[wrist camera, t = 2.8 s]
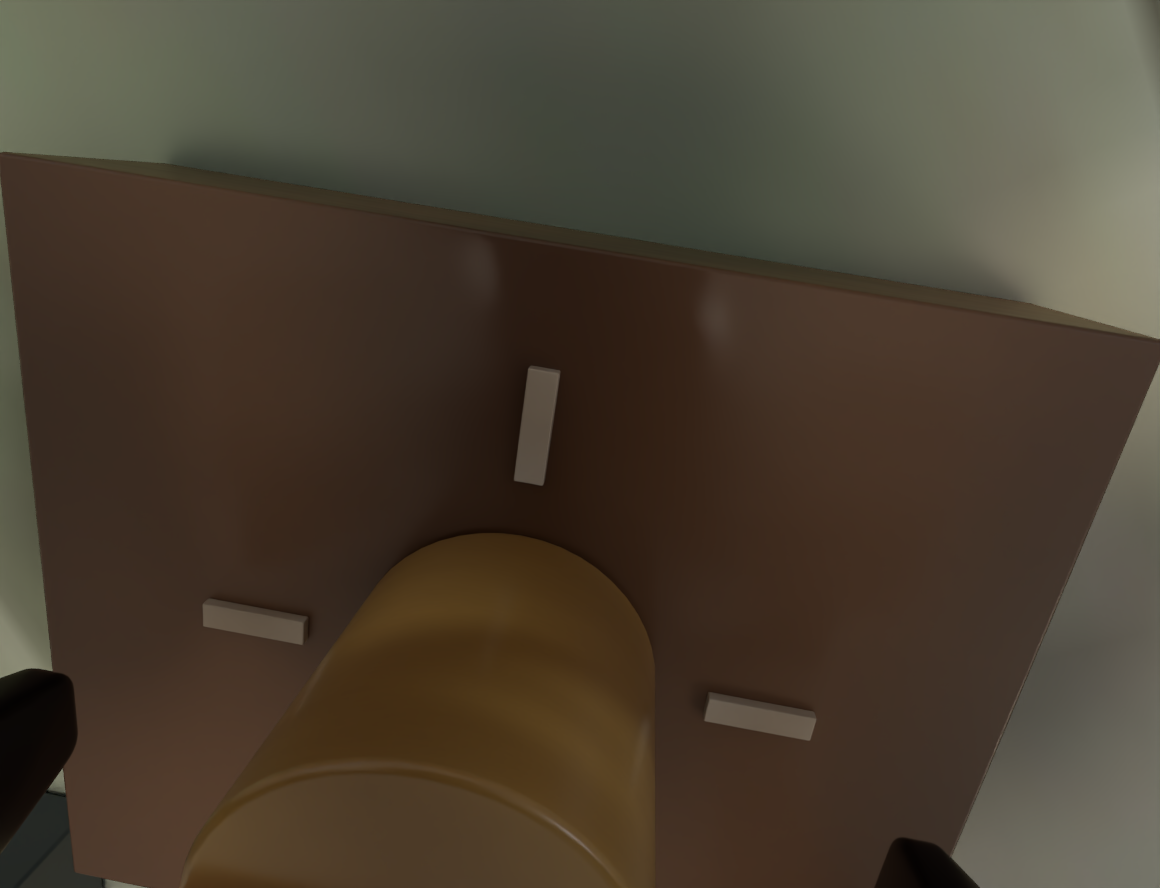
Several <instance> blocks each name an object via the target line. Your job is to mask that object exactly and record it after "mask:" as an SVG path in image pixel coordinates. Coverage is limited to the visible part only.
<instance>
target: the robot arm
mask: <svg viewBox="0 0 1160 888" xmlns="http://www.w3.org/2000/svg"><path fill="white" fill-rule="evenodd" d="M77 738H78V726H77V715H76V704H75V694H74V685H73V682H72V680H71V679H70V678H69V676H67V675H65V674H63V673H58V672H52V671H47V670H42V669H32V668H31V669H25V670H22V671H19V672H16V673H14V674H11V675H8V676H5V677H2V678H0V854H1V853H2V852H3V850H4V849H5V847H6V846H7V845H8V843H9V842H10V840H11V839H12V838H13V836H14V835H15V834H16V832H17V831H18V829H19V828H20V827H21V825H22V824H23V822H24V821H25V820H26V818H27V817H28V815H29V814H30V813H31V811H32V810H33V809H34V807H35V806H36V804H37V803H38V802H39V800H40V799H41V797H42V796H43V795H44V793H45V792H46V790H47V789H48V788H49V786H50V785H51V784H52V782H53V781H54V779H55V778H56V777H57V775H58V774H59V772H60V771H61V770H62V768H63V767H64V765H65V764H66V763H67V761H68V760H69V758H70V757H71V755H72V753H73V751H74V749H75V746H76V743H77ZM874 888H980V887H979V886H978V885H977V884H976V883H975V882H974V881H973V880H972V879H971V878H970V877H969V876H968V875H967V874H966V873H965V872H964V871H963V870H962V869H961V867H960V866H959V865H958V864H957V863H956V862H955V861H954V860H953V859H952V858H951V857H950V856H949V855H948V854H947V853H946V852H945V851H944V850H943V849H942V848H941V847H939V846H938V845H936V844H934V843H931V842H927V841H921V840H916V839H911V838H906V837H899V838H896V839H895V840H894V841H893V842H892V843H891V845H890V847H889V850H888V852H887V855H886V858H885V860H884V863H883V866H882V868H881V871H880V873H879V876H878V879H877V881H876V884H875V886H874Z"/></svg>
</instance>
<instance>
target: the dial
mask: <svg viewBox="0 0 1160 888" xmlns="http://www.w3.org/2000/svg"><path fill="white" fill-rule="evenodd" d="M179 888H656V844H655V663H654V658H653V652H652V647H651V644H650V641H649V638H648V635H647V632H646V629H645V627H644V625H643V623H642V621H641V619H640V617H639V615H638V613H637V612H636V611H635V609H634V608H633V606H632V605H631V603H630V602H629V600H628V599H627V597H626V596H625V595H624V594H623V593H622V592H621V591H620V590H619V589H618V587H617V586H616V585H615V584H614V583H613V582H612V581H611V580H610V579H609V578H607V577H606V576H605V575H604V574H603V573H602V572H601V571H599V570H598V569H597V568H596V567H594V566H593V565H591V564H590V563H588V562H587V561H585V560H584V559H582V558H581V557H579V556H577V555H575V554H573V553H571V552H569V551H567V550H565V549H563V548H561V547H559V546H556V545H553V544H551V543H548V542H545V541H542V540H539V539H534V538H530V537H526V536H522V535H514V534H505V533H477V534H469V535H461V536H456V537H453V538H449V539H445V540H441V541H438V542H435V543H433V544H431V545H428V546H426V547H423V548H421V549H419V550H417V551H416V552H414V553H412V554H411V555H409V556H407V557H405V558H404V559H403V560H402V561H400V562H399V563H398V564H396V565H395V566H394V567H393V568H391V569H390V570H389V571H388V573H387V574H386V575H385V576H384V577H383V578H382V579H381V580H380V581H379V582H378V584H377V585H376V586H375V588H374V589H373V591H372V592H371V593H370V595H369V596H368V598H367V599H366V600H365V602H364V603H363V604H362V606H361V607H360V609H359V610H358V611H357V613H356V614H355V616H354V617H353V618H352V620H351V621H350V623H349V624H348V625H347V627H346V628H345V630H344V631H343V632H342V634H341V635H340V636H339V638H338V639H337V641H336V642H335V643H334V645H333V646H332V648H331V649H330V650H329V652H328V653H327V655H326V656H325V657H324V659H323V660H322V661H321V663H320V664H319V666H318V667H317V668H316V670H315V671H314V673H313V674H312V675H311V677H310V678H309V680H308V681H307V682H306V684H305V685H304V687H303V688H302V689H301V691H300V692H299V693H298V695H297V696H296V698H295V699H294V700H293V702H292V703H291V705H290V706H289V707H288V709H287V710H286V712H285V713H284V714H283V716H282V717H281V719H280V720H279V721H278V723H277V724H276V725H275V727H274V728H273V730H272V731H271V732H270V734H269V735H268V737H267V738H266V739H265V741H264V742H263V744H262V745H261V746H260V748H259V749H258V750H257V752H256V753H255V755H254V756H253V757H252V759H251V760H250V762H249V763H248V764H247V766H246V767H245V769H244V770H243V771H242V773H241V774H240V776H239V777H238V778H237V780H236V781H235V782H234V784H233V785H232V787H231V788H230V789H229V791H228V792H227V794H226V795H225V796H224V798H223V799H222V801H221V802H220V803H219V805H218V806H217V808H216V809H215V810H214V812H213V813H212V814H211V816H210V817H209V819H208V820H207V822H206V823H205V824H204V826H203V827H202V829H201V830H200V832H199V833H198V835H197V836H196V838H195V839H194V841H193V844H192V846H191V848H190V851H189V853H188V855H187V857H186V860H185V864H184V868H183V873H182V877H181V881H180V886H179Z"/></svg>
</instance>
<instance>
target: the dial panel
mask: <svg viewBox="0 0 1160 888" xmlns="http://www.w3.org/2000/svg"><path fill="white" fill-rule="evenodd" d="M0 178H1V188H2V197H3V206H4V216H5V225H6V235H7V244H8V254H9V263H10V272H11V282H12V291H13V301H14V310H15V319H16V329H17V338H18V348H19V357H20V367H21V376H22V385H23V395H24V404H25V414H26V423H27V433H28V442H29V451H30V461H31V470H32V480H33V489H34V498H35V508H36V517H37V527H38V536H39V546H40V555H41V564H42V574H43V583H44V593H45V602H46V611H47V621H48V630H49V640H50V649H51V659H52V668H53V672H58V673H63V674H65V675H67V676H69V678H70V679H71V680H72V682H73V685H74V694H75V704H76V715H77V726H78V738H77V743H76V746H75V749H74V751H73V753H72V755H71V757H70V758H69V760H68V761H67V763H66V764H65V765H64V767H63V772H64V781H65V790H66V800H67V809H68V819H69V828H70V838H71V847H72V856H73V866H74V871H75V872H76V873H80V874H84V875H89V876H94V877H99V878H104V879H109V880H114V881H118V882H123V883H128V884H133V885H138V886H143V887H148V888H179V886H180V881H181V877H182V873H183V868H184V864H185V860H186V857H187V855H188V853H189V851H190V848H191V846H192V844H193V841H194V839H195V838H196V836H197V835H198V833H199V832H200V830H201V829H202V827H203V826H204V824H205V823H206V822H207V820H208V819H209V817H210V816H211V814H212V813H213V812H214V810H215V809H216V808H217V806H218V805H219V803H220V802H221V801H222V799H223V798H224V796H225V795H226V794H227V792H228V791H229V789H230V788H231V787H232V785H233V784H234V782H235V781H236V780H237V778H238V777H239V776H240V774H241V773H242V771H243V770H244V769H245V767H246V766H247V764H248V763H249V762H250V760H251V759H252V757H253V756H254V755H255V753H256V752H257V750H258V749H259V748H260V746H261V745H262V744H263V742H264V741H265V739H266V738H267V737H268V735H269V734H270V732H271V731H272V730H273V728H274V727H275V725H276V724H277V723H278V721H279V720H280V719H281V717H282V716H283V714H284V713H285V712H286V710H287V709H288V707H289V706H290V705H291V703H292V702H293V700H294V699H295V698H296V696H297V695H298V693H299V692H300V691H301V689H302V688H303V687H304V685H305V684H306V682H307V681H308V680H309V678H310V677H311V675H312V674H313V673H314V671H315V670H316V668H317V667H318V666H319V664H320V663H321V661H322V660H323V659H324V657H325V656H326V655H327V653H328V652H329V650H330V649H331V648H332V646H333V645H334V643H335V642H336V641H337V639H338V638H339V636H340V635H341V634H342V632H343V631H344V630H345V628H346V627H347V625H348V624H349V623H350V621H351V620H352V618H353V617H354V616H355V614H356V613H357V611H358V610H359V609H360V607H361V606H362V604H363V603H364V602H365V600H366V599H367V598H368V596H369V595H370V593H371V592H372V591H373V589H374V588H375V586H376V585H377V584H378V582H379V581H380V580H381V579H382V578H383V577H384V576H385V575H386V574H387V573H388V571H389V570H390V569H391V568H393V567H394V566H395V565H396V564H398V563H399V562H400V561H402V560H403V559H404V558H405V557H407V556H409V555H411V554H412V553H414V552H416V551H417V550H419V549H421V548H423V547H426V546H428V545H431V544H433V543H435V542H438V541H441V540H445V539H449V538H453V537H456V536H461V535H469V534H477V533H505V534H514V535H522V536H526V537H530V538H534V539H539V540H542V541H545V542H548V543H551V544H553V545H556V546H559V547H561V548H563V549H565V550H567V551H569V552H571V553H573V554H575V555H577V556H579V557H581V558H582V559H584V560H585V561H587V562H588V563H590V564H591V565H593V566H594V567H596V568H597V569H598V570H599V571H601V572H602V573H603V574H604V575H605V576H606V577H607V578H609V579H610V580H611V581H612V582H613V583H614V584H615V585H616V586H617V587H618V589H619V590H620V591H621V592H622V593H623V594H624V595H625V596H626V597H627V599H628V600H629V602H630V603H631V605H632V606H633V608H634V609H635V611H636V612H637V613H638V615H639V617H640V619H641V621H642V623H643V625H644V627H645V629H646V632H647V635H648V638H649V641H650V644H651V647H652V652H653V658H654V663H655V844H656V888H874V886H875V884H876V881H877V879H878V876H879V873H880V871H881V868H882V866H883V863H884V860H885V858H886V855H887V852H888V850H889V847H890V845H891V843H892V842H893V841H894V840H895V839H896V838H899V837H906V838H911V839H916V840H921V841H927V842H931V843H934V844H936V845H938V846H939V847H941V848H942V849H943V850H944V851H945V852H946V853H947V854H948V855H949V856H950V857H951V856H952V854H953V852H954V849H955V847H956V845H957V842H958V840H959V837H960V835H961V833H962V830H963V828H964V826H965V823H966V821H967V818H968V816H969V814H970V811H971V809H972V807H973V804H974V802H975V800H976V797H977V795H978V792H979V790H980V788H981V785H982V783H983V781H984V778H985V776H986V773H987V771H988V769H989V766H990V764H991V762H992V759H993V757H994V754H995V752H996V750H997V747H998V745H999V743H1000V740H1001V738H1002V735H1003V733H1004V731H1005V728H1006V726H1007V724H1008V721H1009V719H1010V716H1011V714H1012V712H1013V709H1014V707H1015V705H1016V702H1017V700H1018V697H1019V695H1020V693H1021V690H1022V688H1023V686H1024V683H1025V681H1026V678H1027V676H1028V674H1029V671H1030V669H1031V667H1032V664H1033V662H1034V659H1035V657H1036V655H1037V652H1038V650H1039V648H1040V645H1041V643H1042V641H1043V638H1044V636H1045V633H1046V631H1047V629H1048V626H1049V624H1050V622H1051V619H1052V617H1053V614H1054V612H1055V610H1056V607H1057V605H1058V603H1059V600H1060V598H1061V595H1062V593H1063V591H1064V588H1065V586H1066V584H1067V581H1068V579H1069V576H1070V574H1071V572H1072V569H1073V567H1074V565H1075V562H1076V560H1077V557H1078V555H1079V553H1080V550H1081V548H1082V546H1083V543H1084V541H1085V538H1086V536H1087V534H1088V531H1089V529H1090V527H1091V524H1092V522H1093V519H1094V517H1095V515H1096V512H1097V510H1098V508H1099V505H1100V503H1101V500H1102V498H1103V496H1104V493H1105V491H1106V489H1107V486H1108V484H1109V482H1110V479H1111V477H1112V474H1113V472H1114V470H1115V467H1116V465H1117V463H1118V460H1119V458H1120V455H1121V453H1122V451H1123V448H1124V446H1125V444H1126V441H1127V439H1128V436H1129V434H1130V432H1131V429H1132V427H1133V425H1134V422H1135V420H1136V417H1137V415H1138V413H1139V410H1140V408H1141V406H1142V403H1143V401H1144V398H1145V396H1146V394H1147V391H1148V389H1149V387H1150V384H1151V382H1152V379H1153V377H1154V375H1155V372H1156V370H1157V368H1158V365H1159V363H1160V339H1156V338H1153V337H1149V336H1146V335H1142V334H1138V333H1135V332H1131V331H1128V330H1124V329H1120V328H1117V327H1113V326H1110V325H1106V324H1102V323H1099V322H1095V321H1092V320H1088V319H1084V318H1081V317H1077V316H1074V315H1070V314H1067V313H1063V312H1059V311H1056V310H1052V309H1049V308H1045V307H1041V306H1038V305H1034V304H1031V303H1025V302H1019V301H1013V300H1006V299H1000V298H994V297H988V296H982V295H975V294H969V293H963V292H957V291H951V290H944V289H938V288H932V287H926V286H920V285H914V284H907V283H901V282H895V281H889V280H883V279H876V278H870V277H864V276H858V275H852V274H845V273H839V272H833V271H827V270H821V269H815V268H808V267H802V266H796V265H790V264H784V263H777V262H771V261H765V260H759V259H753V258H746V257H740V256H734V255H728V254H722V253H716V252H709V251H703V250H697V249H691V248H685V247H678V246H672V245H666V244H660V243H654V242H647V241H641V240H635V239H629V238H623V237H617V236H610V235H604V234H598V233H592V232H586V231H579V230H573V229H567V228H561V227H555V226H548V225H542V224H536V223H530V222H524V221H518V220H511V219H505V218H499V217H493V216H487V215H480V214H474V213H468V212H462V211H456V210H449V209H443V208H437V207H431V206H425V205H419V204H412V203H406V202H400V201H394V200H388V199H381V198H375V197H369V196H363V195H357V194H350V193H344V192H338V191H332V190H326V189H320V188H313V187H307V186H301V185H295V184H289V183H282V182H276V181H270V180H264V179H258V178H251V177H245V176H239V175H233V174H227V173H221V172H214V171H208V170H202V169H196V168H190V167H183V166H177V165H171V164H165V163H151V162H137V161H123V160H109V159H95V158H81V157H68V156H54V155H40V154H26V153H12V152H2V153H0Z"/></svg>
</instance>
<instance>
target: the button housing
mask: <svg viewBox="0 0 1160 888" xmlns="http://www.w3.org/2000/svg"><path fill="white" fill-rule="evenodd" d="M0 888H102V879H101V878H99V877H94V876H89V875H84V874H80V873H76V872H75V871H74V866H73V856H72V847H71V838H70V828H69V819H68V809H67V800H66V797H63V796H58V795H53V794H48V793H44V795H43V796H42V797H41V799H40V800H39V802H38V803H37V804H36V806H35V807H34V809H33V810H32V811H31V813H30V814H29V815H28V817H27V818H26V820H25V821H24V822H23V824H22V825H21V827H20V828H19V829H18V831H17V832H16V834H15V835H14V836H13V838H12V839H11V840H10V842H9V843H8V845H7V846H6V847H5V849H4V850H3V852H2V853H1V854H0Z"/></svg>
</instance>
